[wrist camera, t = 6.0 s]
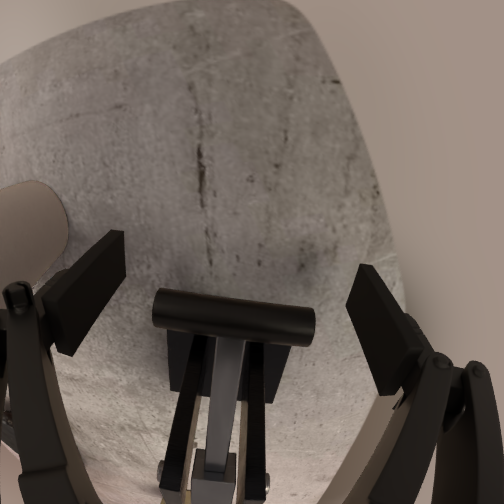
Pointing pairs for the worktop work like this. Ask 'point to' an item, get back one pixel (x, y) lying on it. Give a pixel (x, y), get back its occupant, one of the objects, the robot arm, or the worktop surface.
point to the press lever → (227, 368)
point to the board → (8, 431)
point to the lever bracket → (199, 384)
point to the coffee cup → (29, 233)
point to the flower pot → (187, 499)
